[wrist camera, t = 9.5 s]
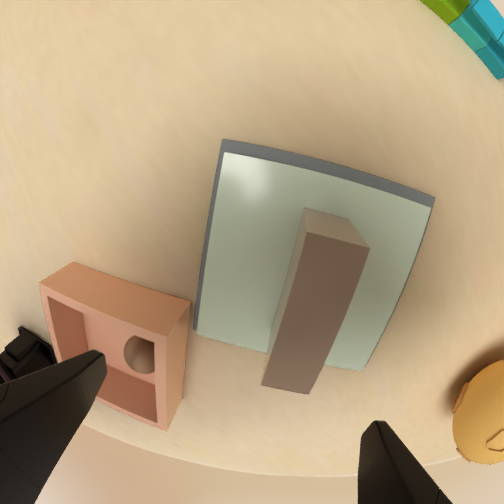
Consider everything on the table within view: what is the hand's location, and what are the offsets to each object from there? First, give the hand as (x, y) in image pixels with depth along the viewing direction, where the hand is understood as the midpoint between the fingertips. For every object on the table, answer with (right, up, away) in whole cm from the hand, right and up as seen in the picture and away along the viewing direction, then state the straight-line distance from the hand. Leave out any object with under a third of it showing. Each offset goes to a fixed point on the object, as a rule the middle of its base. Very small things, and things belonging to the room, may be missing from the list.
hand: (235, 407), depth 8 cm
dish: (-10, -2, +14) cm, 18 cm away
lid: (+4, +3, +9) cm, 11 cm away
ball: (-8, -3, +12) cm, 14 cm away
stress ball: (+23, -8, +11) cm, 26 cm away
